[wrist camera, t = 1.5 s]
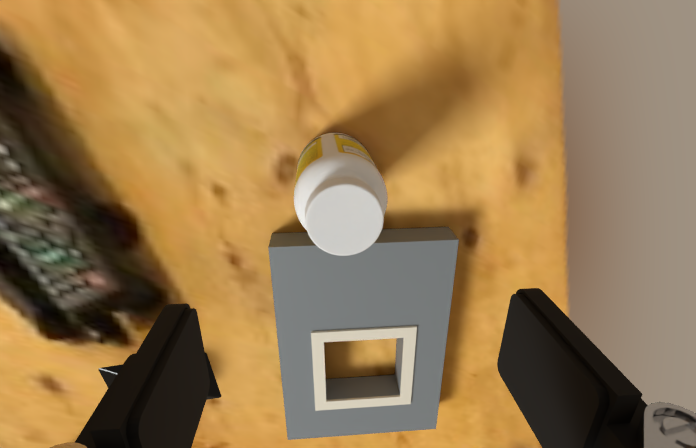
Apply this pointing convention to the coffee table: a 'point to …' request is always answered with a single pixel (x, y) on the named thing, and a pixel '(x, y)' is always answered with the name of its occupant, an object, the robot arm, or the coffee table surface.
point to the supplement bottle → (339, 194)
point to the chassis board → (363, 329)
